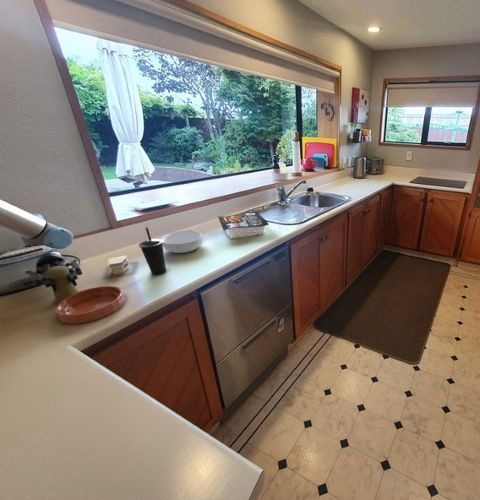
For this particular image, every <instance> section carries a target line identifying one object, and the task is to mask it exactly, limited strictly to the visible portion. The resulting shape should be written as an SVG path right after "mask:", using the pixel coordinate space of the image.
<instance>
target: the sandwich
mask: <svg viewBox="0 0 480 500" xmlns="http://www.w3.org/2000/svg"><path fill="white" fill-rule="evenodd" d="M107 261H108V265H109V268H110V271H111V273H113V275H114V276H115V275H122V274H125V273H126V272H125V271H126V269H127V268H128V267H129V266H130V262H129V258H128V255H120V256H116V257H115V256H114V257H111V258H109V259H108V260H107Z"/></svg>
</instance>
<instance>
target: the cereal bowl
mask: <svg viewBox="0 0 480 500" xmlns="http://www.w3.org/2000/svg"><path fill="white" fill-rule="evenodd" d="M203 239H204V238H203V234H202V233H201V232H200V231H197V230H179V231H174V232H170V233H167V234H165V235H163V236H162V237H161V239H160V240H162V241H163V243H162V246H163V249H165V250H166V251H168V252H170V253H175V254H185V253H189V252H192V251H195V250H197V249H198V248H200V247H201V246H202V244H203V241H204V240H203Z"/></svg>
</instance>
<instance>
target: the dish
mask: <svg viewBox="0 0 480 500" xmlns="http://www.w3.org/2000/svg"><path fill="white" fill-rule="evenodd" d="M125 297H126V296H125V295H124V292H123V290H122V288H121V287H118V286H115V285H101V286H95V287H90V288H89V287H88V288H86V289H83V290H80V291H78V292H77V293H75V294H73V295H70V296H69V297H67V298H65V299H63V300H62V301H59V303H57V305H56V307H55V312H56V314H57V316H58V318H59V320H60V321H61V322H63V323H65V324H72V325H74V324H82V323H83V324H85V323H88V322H93V321H96V320H99V319H102V318H104V317H107V316H109V315H110V314H112V313H115V312H116V311H117V310H118V309H120V308H122V306H123V305H124V304H125V300H126V298H125Z"/></svg>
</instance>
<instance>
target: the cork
mask: <svg viewBox="0 0 480 500" xmlns="http://www.w3.org/2000/svg"><path fill="white" fill-rule="evenodd" d="M68 268H69V267H68ZM68 268H67V267H66V266H55V267H51V268H49V269H48V270H47V272H46V274H47V276H48V277H49V278H51V279H52V281H53V283H54V285H55V287H56V289H57V291H56V292H54V291H53V295H54V300H55V301H57V302H61V301H62V300H63V299H65V298H67V297H69V296H70V295H73V294H75V293H77V292H79V290H78V288H77V287H76V286H74V285H73V284H72V282H71V280H70V278H69V276H68V274H69V270H68Z"/></svg>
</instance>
